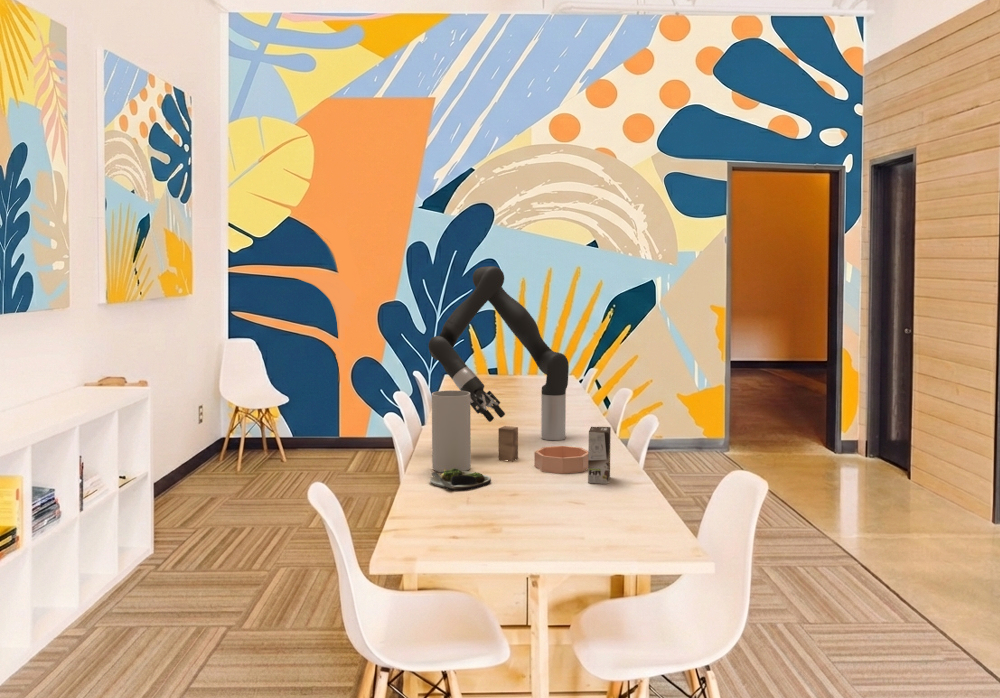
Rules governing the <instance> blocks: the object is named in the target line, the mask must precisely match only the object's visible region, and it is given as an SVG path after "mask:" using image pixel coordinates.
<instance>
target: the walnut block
mask: <svg viewBox="0 0 1000 698" xmlns="http://www.w3.org/2000/svg"><path fill="white" fill-rule="evenodd" d="M517 458H518V459H519V427H518V426H509V425H503V426H501V427H499V428H498V461H501V460H508V461H507V462H509V461H512V462H514V461H516V460H518V459H517ZM515 459H516V460H515ZM513 460H514V461H513Z"/></svg>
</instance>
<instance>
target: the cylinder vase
mask: <svg viewBox="0 0 1000 698" xmlns="http://www.w3.org/2000/svg"><path fill="white" fill-rule="evenodd" d="M471 422H472V421H471V405H470V392H466V391H460V390H454V389H453V390H452V389H451V390H439V391H434V392H432V393H431V443H432V444H431V449H432V451H431V453H432V454H431V458H432V459H431V460H432V461H431V465H432V467H431V468H432V469H433V470H434V472H436V473H441V474H443V473H444V469H445V470H446V471H447V470H451V469H453V468H455V469H459V470H460V471H469V470H471V467H472V465H471V464H472V461H471V459H472V457H471V456H472V455H471V454H472V453H471V452H472V450H471V448H472V447H471V444H472V443H471V441H472V440H471V439H472V437H471V436H472V435H471V431H472V430H471Z"/></svg>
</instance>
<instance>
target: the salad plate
mask: <svg viewBox="0 0 1000 698" xmlns="http://www.w3.org/2000/svg"><path fill="white" fill-rule="evenodd" d="M431 476H432V477H431V478H429V481H430V482H429V483H431V484H433V485H434V486H436V487H439V488H442V489H446V490H449V491H456V492H457V491H459V492H461V491H463V492H465V491H470V490H476V489H479V488H483V487H486V486H488V485H489V484H490V483H491V482H492V479H491V477H490V476H489V475H486V474H483V473H480V472H476V471H475V472H472V471H469V470H467V471H460V470H459V469H455V468H453V469H451V470H447V471H446V470H445V469H444V473H441V474H438V472H437V471H433V472H431Z"/></svg>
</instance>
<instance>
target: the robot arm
mask: <svg viewBox="0 0 1000 698" xmlns="http://www.w3.org/2000/svg"><path fill="white" fill-rule="evenodd" d="M472 282H473V285H474V287H475V289H474V290H473V292H471V294H470V295H469V296H468V297H467V298H466V299H465V300H464V301H462V303H460V304H459V305H458V306H457V307H456V309H454V311H452V313H451V315H450V316H449V317H448V318H447V320H446V321H445V322H444V324H443V326H442V329H441V332H440V334H439V335H435V336H433V337H431V339H430V340H429V342H428V350H429V353H430V356H431V357H432V358H433V359H434V360H436V361H438V362H439V363H440V364H441V366H442V367H443V370H444V371H445V372H446V374H447V375H448V376H449V378H450V379H451V380H452V382H453V383H454V384H455V386H456V388H458V389H459V391H466V392H470V407H471V408H473V410H474V411H475V413H476V414H478V415H479V414H480V415H482V416H484V418H485V419H486V420H487V422H489V423H490V422H492V421H493V420H495V417H494V415H493V414H492V413H491V412H490V411H489V409H488V408H491V409H492V410H493V411H494V412H495V414H497V416H498V417H499V418H503V417H504V416H505V415H506V413H505V411H504V410H503V409H502V408H501V407H500V404H501V401H500V399H498V398H497V397H496V395H494V393H493V392H492V391H491V390H488V391H487V392H486V391H485V390H484V389H485V384H484V383H483V382H482V381H481V379H480V378H479V377H478V376H477V375H476V373H474V371H473V370H472V369H471V368H470V367H469V366H468V365H467V364H466V363H465V362H464V361H463V359H461V357H460V356H459V355H458V354H457V352H456V351H455V349H454V347H455V346H456V343H457V341H458V339H459V338H460V337H461V336H462V334H463V333H464V331H465V330H466V328H467V327H468V326H469V324H470V323H471V322H472V320H473V319H474V318H475V316H476V315H477V314H478V313H479V311H480V310H481V309H482V308H483V307H484V306H485V304H487V302H489V303H490V304H491V305H492V307H493V308H494V310H495V311H496V312H497V314H498V315H499V316H500V318H501V319H502V320H503V321H504V323H505V325H506V326H507V327H508V328H509V329H510V331H511V332H512V333H513V335H514V336H515V337H516V338H517V340H518V341H519V342H520V343H521V344H522V346H524V348H525V349H526V350H527V352H528V353H529V354H530V356H531V357H532V359H533V361H534V362H535V364H536V366H537V367H538V369H539V370H540V371H541V372H542V373H543V374H544V375H546V378H545V379H546V381H545V383H544V385H542V386H541V396H540V397H541V408H540V409H541V411H540V412H541V415H540V416H541V418H540V419H541V421H540V423H541V425H540V426H541V429H540V430H541V431H540V434H541V439H542V440H545V441H546V440H547V441H561V440H565V439H566V422H567V421H566V418H567V417H566V415H567V414H566V413H567V412H566V411H567V410H566V408H567V407H566V406H567V405H566V403H567V402H566V401H567V400H566V399H567V397H566V395H567V392H566V391H567V388H568V385H569V368H570V366H569V365H570V364H569V361H568V360H569V359H568V358H567V356H566V355H565V354H563V353H561V352H557V351H554V350H552V349H551V348H550V347H549V346H548V345H547V343H546V342H545V341H544V339H543V338H542V335H541V333H540V330H539V327H538V325H537V323H536V320H535V319H534V318H533V316H532V315H531V314H530V312H529V310H528V309H526V308H525V307H524V306H523V305H522V304H521V303H520V302H518V301H517V300H516V299H515V298H513V297H512V296H511V295H510V294H508V293H507V291H506V290H505V289H504V288H503V284H504V283H505V274H504V272H503V270H502V269H501V268H500V267H497V266H493V265H492V266H490V265H489V266H488V265H487V266H481V267H478V268H477V269H475V271H474V272H473V273H472Z"/></svg>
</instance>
